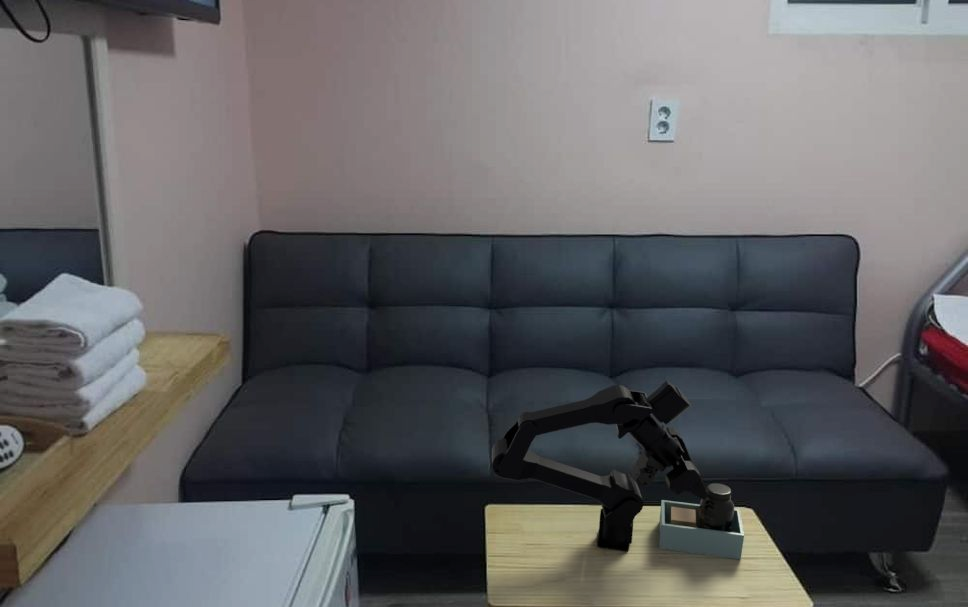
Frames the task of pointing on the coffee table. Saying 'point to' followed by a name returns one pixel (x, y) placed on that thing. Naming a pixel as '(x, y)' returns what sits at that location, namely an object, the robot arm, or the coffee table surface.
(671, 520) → the walnut cube
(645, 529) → the coffee table surface
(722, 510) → the supplement bottle
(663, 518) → the tote
